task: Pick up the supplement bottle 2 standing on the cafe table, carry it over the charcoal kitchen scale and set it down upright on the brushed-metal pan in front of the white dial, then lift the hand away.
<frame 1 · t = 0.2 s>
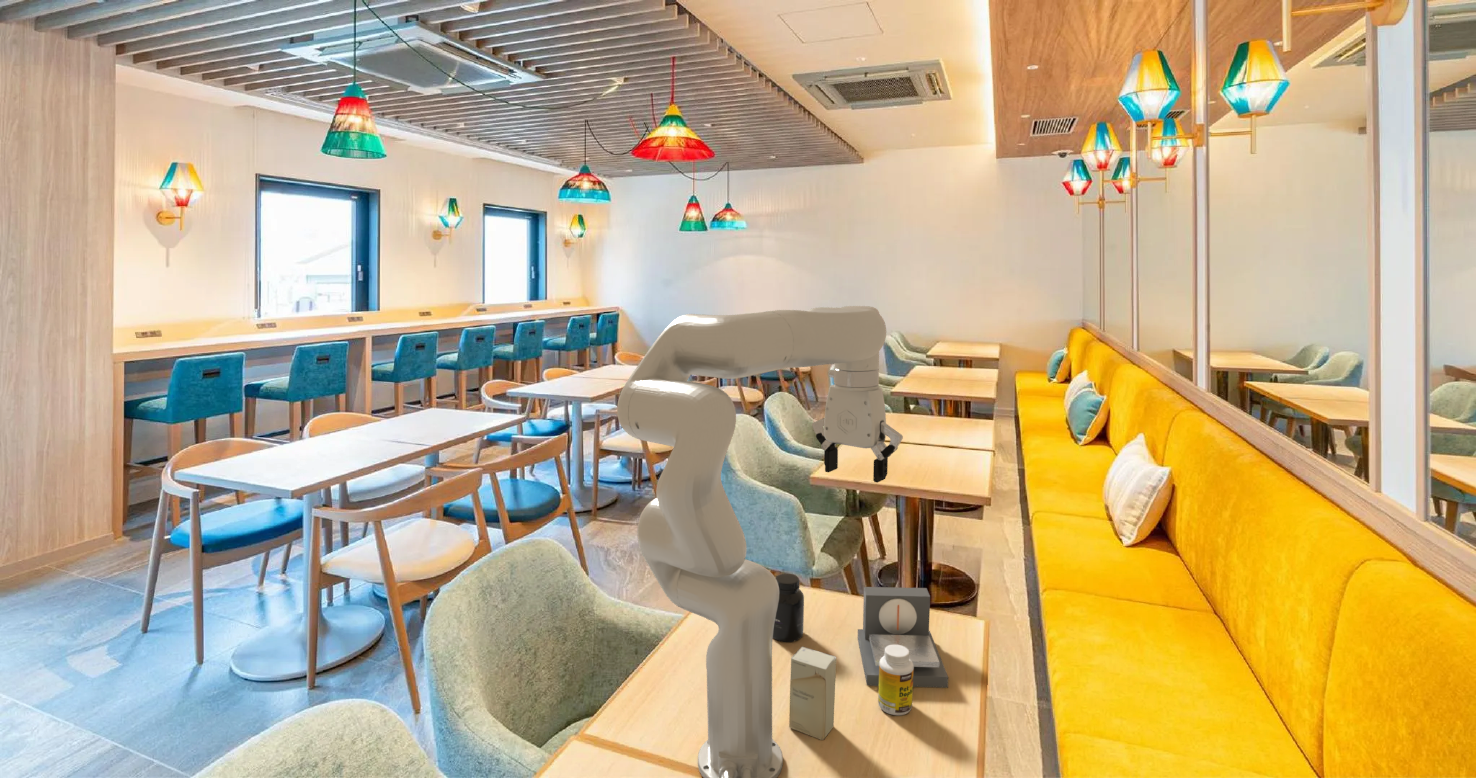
hand: (854, 475, 125), 37 cm above the table, tool pointing down, fingers open, 9 cm apart
scale pan: (903, 652, 129), point 3 cm above the table, slide at -0.5 cm
supplement bottle: (786, 635, 143), on the table
skincare box: (812, 728, 114), on the table
supplement bottle 2: (895, 707, 119), on the table
scale base: (899, 661, 133), on the table
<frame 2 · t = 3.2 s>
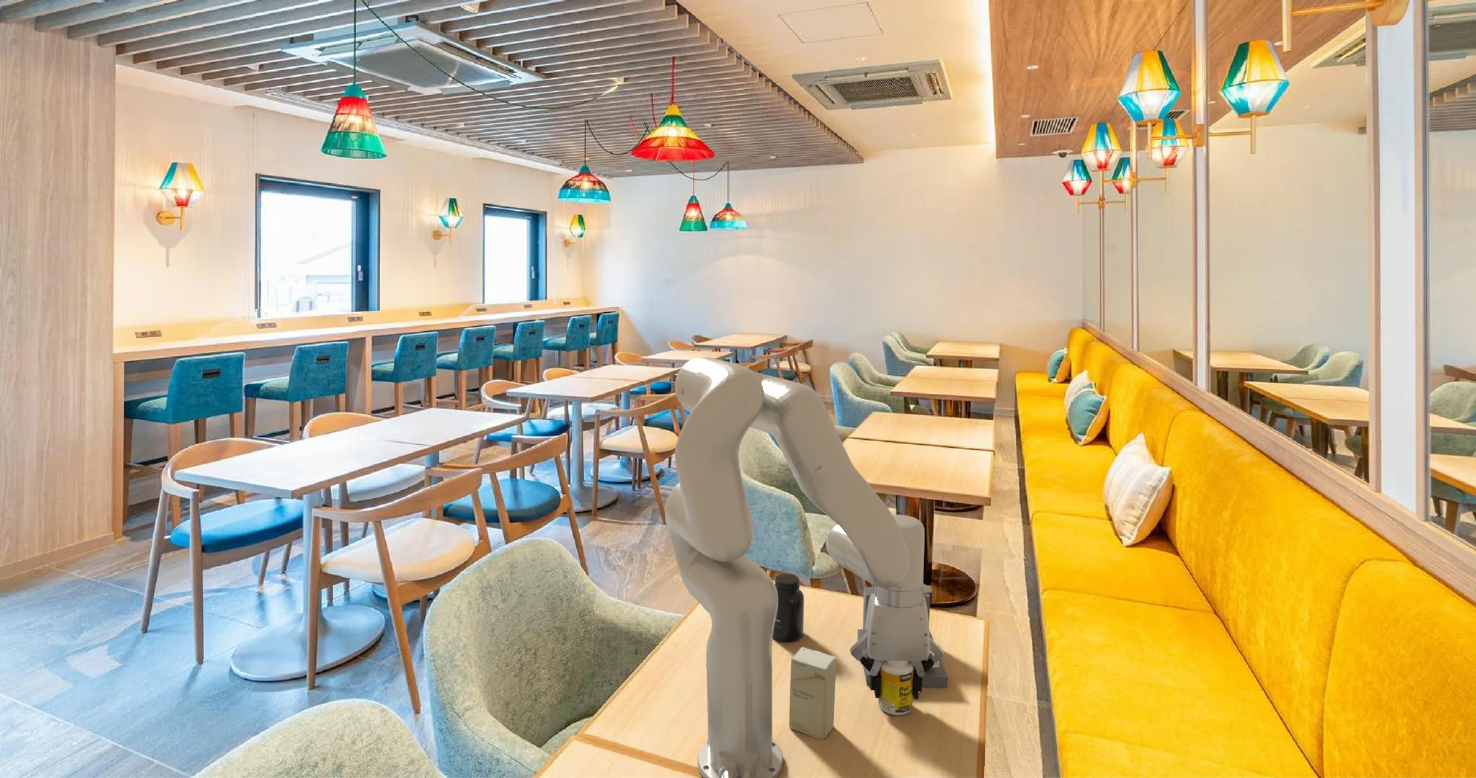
hand: (895, 692, 119), 3 cm above the table, tool pointing down, fingers closed on supplement bottle 2, 5 cm apart
supplement bottle 2: (895, 707, 119), on the table, touching gripper
everything else where it was.
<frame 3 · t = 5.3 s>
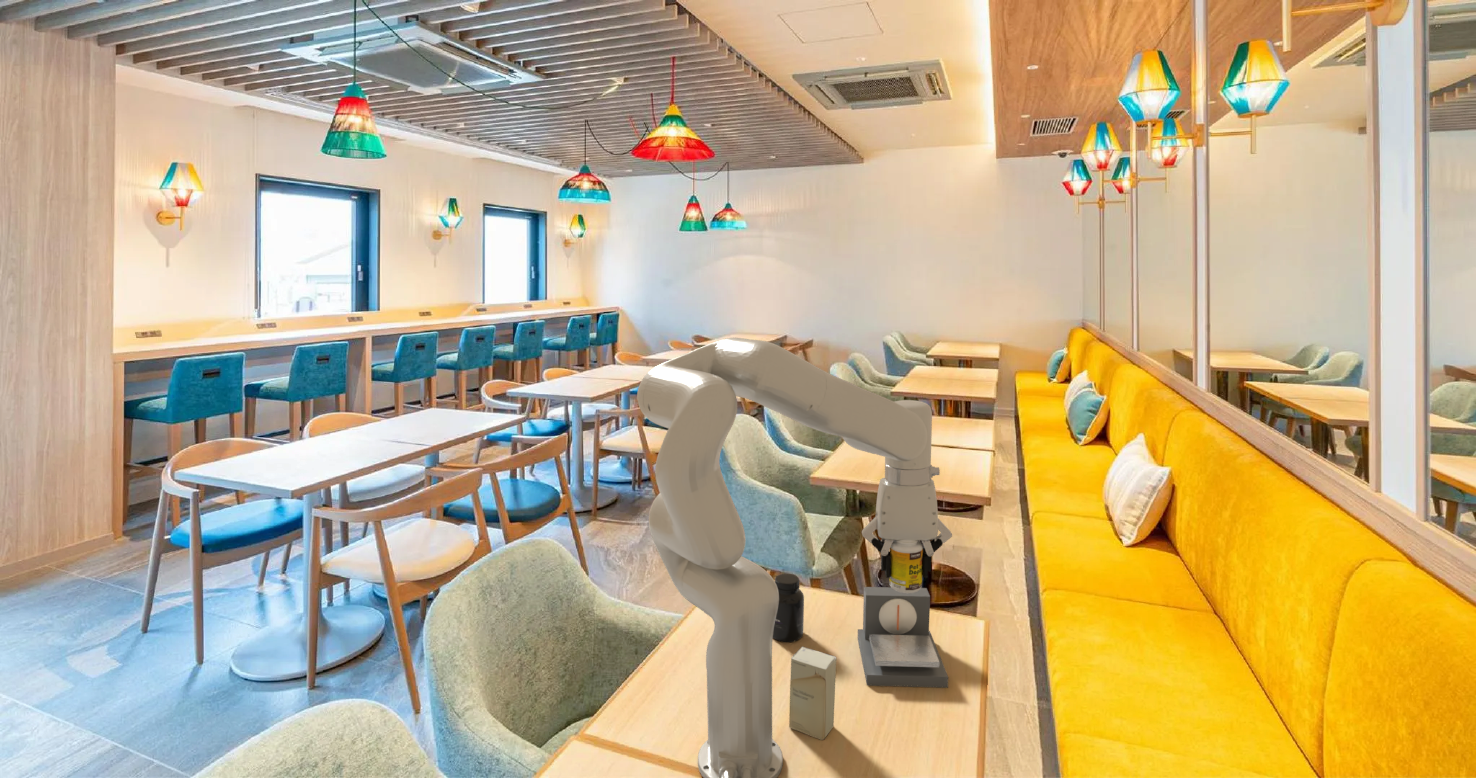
hand: (905, 573, 123), 20 cm above the table, tool pointing down, fingers closed on supplement bottle 2, 5 cm apart
supplement bottle 2: (905, 588, 124), point 17 cm above the table, touching gripper
everything else where it was.
when the fingers open (9 cm above the table, at t = 7.6 s): supplement bottle 2 drops 2 cm, resting on scale pan.
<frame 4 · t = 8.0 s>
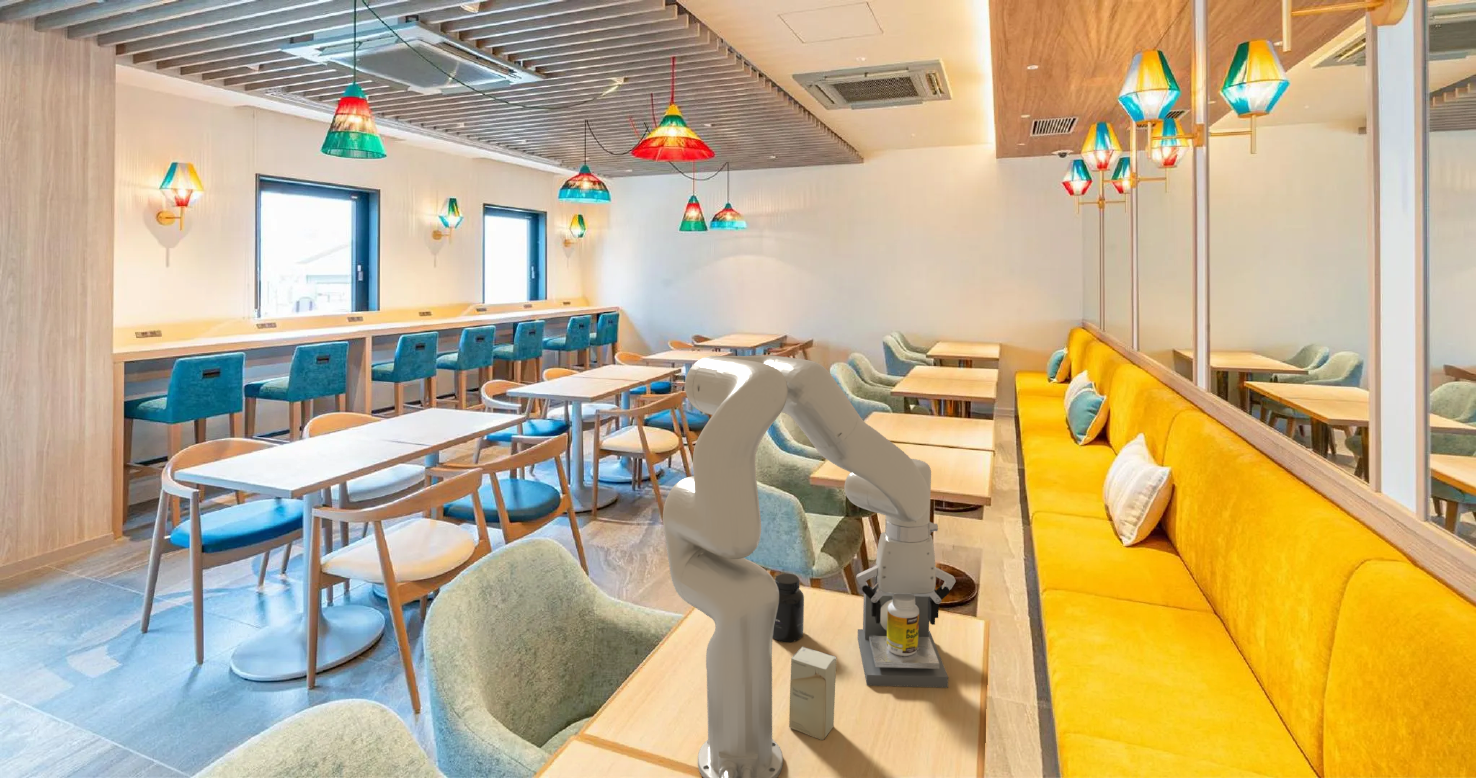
hand: (904, 620, 128), 10 cm above the table, tool pointing down, fingers open, 9 cm apart
scale pan: (903, 653, 129), point 3 cm above the table, slide at -0.8 cm, touching supplement bottle 2
supplement bottle 2: (902, 650, 129), point 4 cm above the table, touching scale pan
everything else where it was.
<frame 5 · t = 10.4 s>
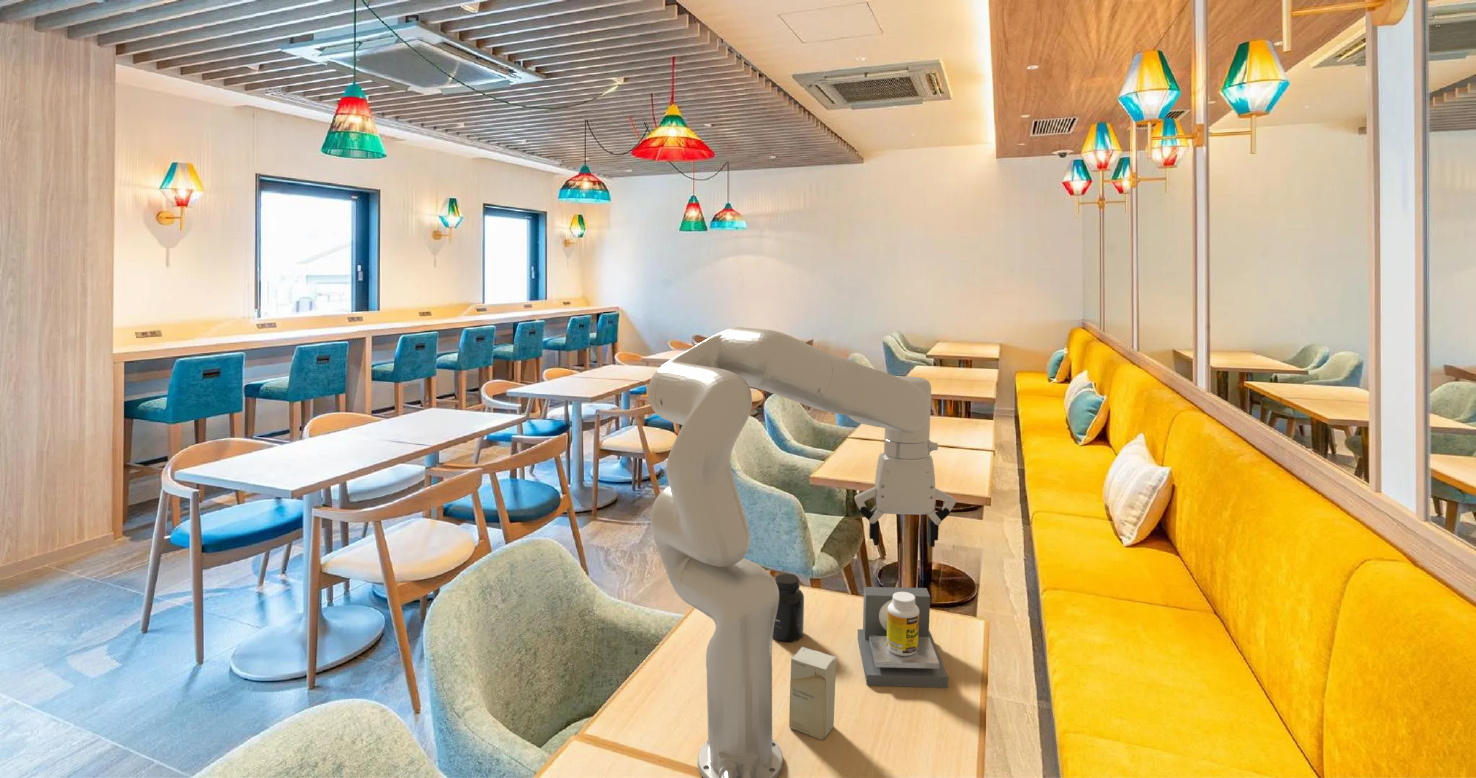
hand: (903, 543, 126), 24 cm above the table, tool pointing down, fingers open, 9 cm apart
nothing on the table moved.
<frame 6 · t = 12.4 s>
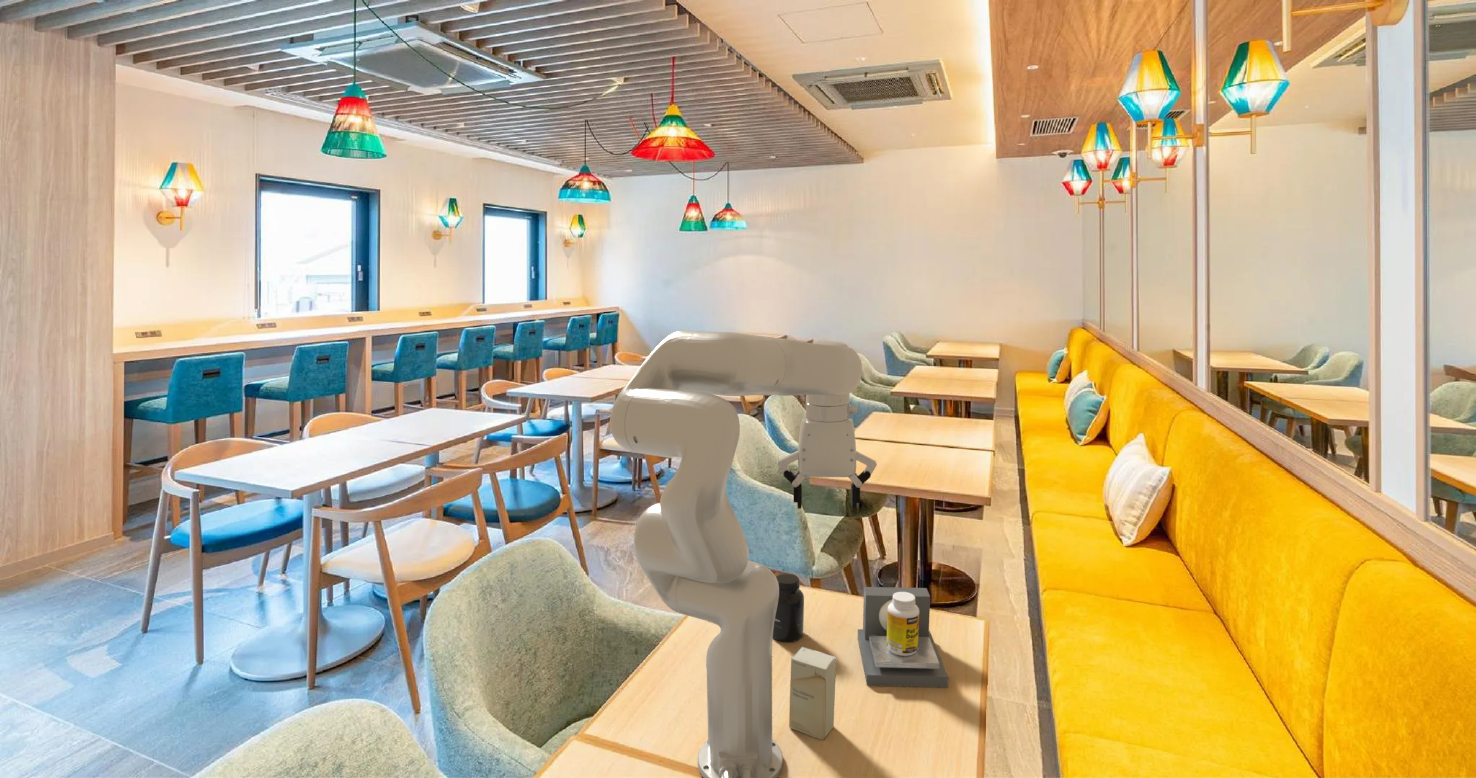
hand: (826, 506, 127), 30 cm above the table, tool pointing down, fingers open, 9 cm apart
nothing on the table moved.
at the end: supplement bottle 2 inside the target area on the scale pan (0.2 cm from its centre), point 4.8 cm above the scale pan's base; supplement bottle 2 tilted 0°; the gripper is holding nothing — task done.
